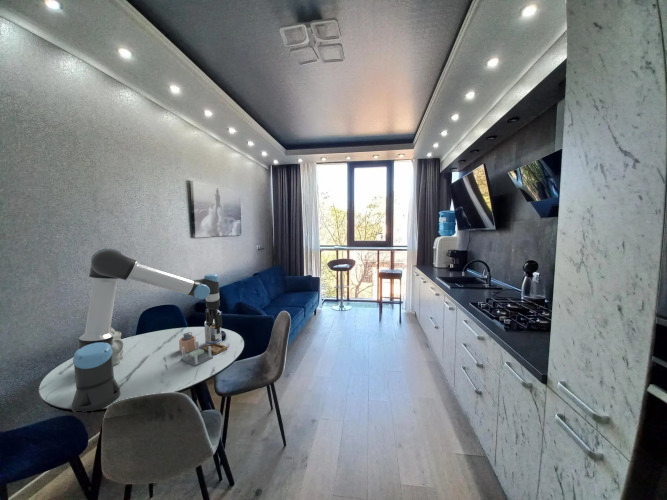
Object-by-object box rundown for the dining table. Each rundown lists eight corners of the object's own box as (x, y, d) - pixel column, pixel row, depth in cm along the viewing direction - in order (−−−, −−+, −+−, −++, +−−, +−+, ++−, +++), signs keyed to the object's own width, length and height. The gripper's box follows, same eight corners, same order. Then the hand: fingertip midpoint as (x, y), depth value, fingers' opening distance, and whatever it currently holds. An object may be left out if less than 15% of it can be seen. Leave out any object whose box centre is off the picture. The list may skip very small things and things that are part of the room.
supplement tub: (216, 346, 157) (215, 323, 156) (202, 346, 158) (200, 323, 157) (224, 339, 167) (223, 318, 166) (211, 339, 168) (209, 318, 167)
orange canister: (185, 353, 148) (184, 337, 147) (177, 350, 152) (176, 334, 151) (198, 348, 155) (197, 332, 154) (190, 345, 159) (189, 330, 158)
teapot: (104, 374, 128) (101, 338, 126) (81, 371, 131) (77, 336, 129) (135, 358, 144) (133, 326, 142) (114, 355, 147) (111, 324, 145)
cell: (214, 341, 149) (212, 325, 148) (209, 340, 152) (208, 324, 151) (220, 338, 153) (219, 323, 152) (216, 337, 156) (215, 321, 155)
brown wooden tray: (215, 354, 146) (215, 352, 146) (203, 350, 152) (202, 347, 152) (227, 349, 153) (227, 346, 153) (215, 344, 159) (214, 342, 159)
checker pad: (193, 357, 138) (193, 354, 138) (189, 355, 140) (189, 353, 140) (203, 352, 143) (203, 350, 143) (199, 351, 145) (199, 348, 145)
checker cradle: (195, 366, 134) (194, 353, 134) (181, 359, 141) (180, 347, 141) (212, 358, 143) (212, 346, 142) (198, 352, 150) (197, 340, 149)
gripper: (227, 300, 149) (229, 338, 151) (209, 296, 158) (211, 332, 160) (216, 303, 143) (218, 343, 145) (198, 299, 152) (200, 337, 154)
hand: (214, 337), depth 152 cm, fingers closed on cell, 4 cm apart
